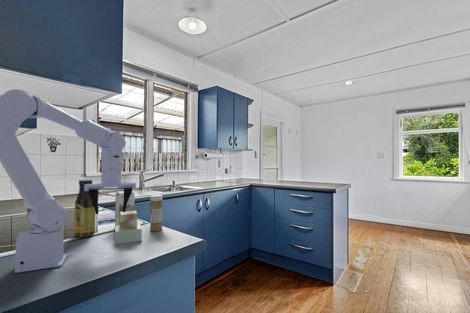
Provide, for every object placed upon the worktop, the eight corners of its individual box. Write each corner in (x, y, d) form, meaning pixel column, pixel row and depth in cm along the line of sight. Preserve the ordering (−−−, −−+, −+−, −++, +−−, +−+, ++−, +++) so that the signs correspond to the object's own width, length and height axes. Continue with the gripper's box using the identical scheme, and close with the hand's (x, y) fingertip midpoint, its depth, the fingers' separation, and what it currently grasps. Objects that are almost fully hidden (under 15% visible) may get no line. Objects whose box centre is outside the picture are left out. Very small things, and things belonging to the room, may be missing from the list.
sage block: (115, 244, 80) (115, 231, 80) (115, 236, 87) (115, 225, 87) (141, 240, 83) (141, 228, 83) (139, 234, 91) (140, 223, 91)
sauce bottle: (73, 234, 89) (74, 179, 89) (93, 231, 93) (93, 178, 93) (75, 239, 84) (75, 180, 84) (96, 236, 88) (96, 179, 88)
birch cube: (120, 230, 82) (121, 214, 82) (119, 226, 86) (120, 211, 86) (137, 228, 84) (137, 213, 84) (135, 224, 89) (135, 210, 89)
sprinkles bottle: (151, 228, 98) (151, 194, 98) (163, 228, 98) (163, 194, 98) (148, 231, 93) (148, 196, 93) (161, 231, 94) (161, 195, 94)
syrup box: (129, 225, 103) (130, 189, 103) (134, 228, 98) (134, 191, 98) (114, 227, 99) (115, 190, 99) (118, 230, 94) (119, 192, 94)
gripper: (83, 170, 73) (82, 217, 72) (136, 170, 79) (136, 213, 78) (86, 169, 79) (85, 212, 79) (135, 169, 85) (134, 209, 85)
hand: (110, 212), depth 79 cm, fingers open, 7 cm apart
